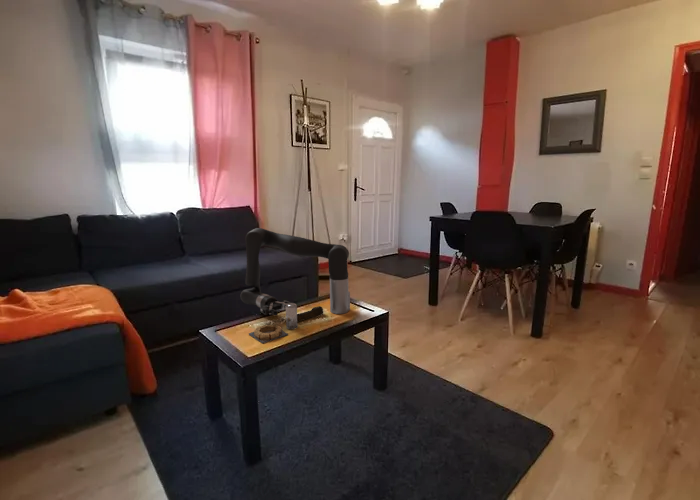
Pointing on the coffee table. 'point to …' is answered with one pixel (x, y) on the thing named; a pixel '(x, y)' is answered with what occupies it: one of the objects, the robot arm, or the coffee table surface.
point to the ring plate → (268, 333)
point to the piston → (291, 316)
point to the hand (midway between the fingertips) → (284, 311)
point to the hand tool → (310, 313)
